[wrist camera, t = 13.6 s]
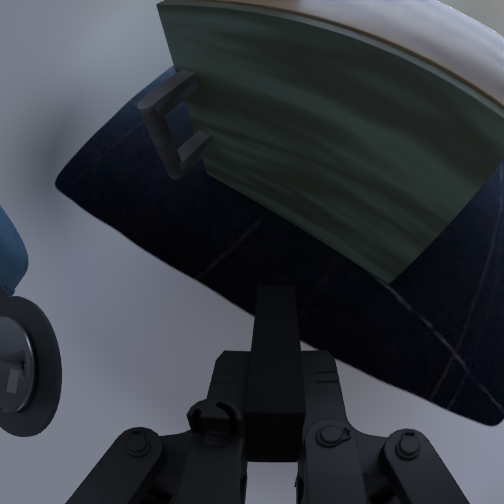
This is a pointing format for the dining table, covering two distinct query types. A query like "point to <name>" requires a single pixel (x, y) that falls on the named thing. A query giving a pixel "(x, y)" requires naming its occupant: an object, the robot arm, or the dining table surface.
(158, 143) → the cupboard door
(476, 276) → the dining table surface
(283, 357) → the robot arm
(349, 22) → the cupboard
